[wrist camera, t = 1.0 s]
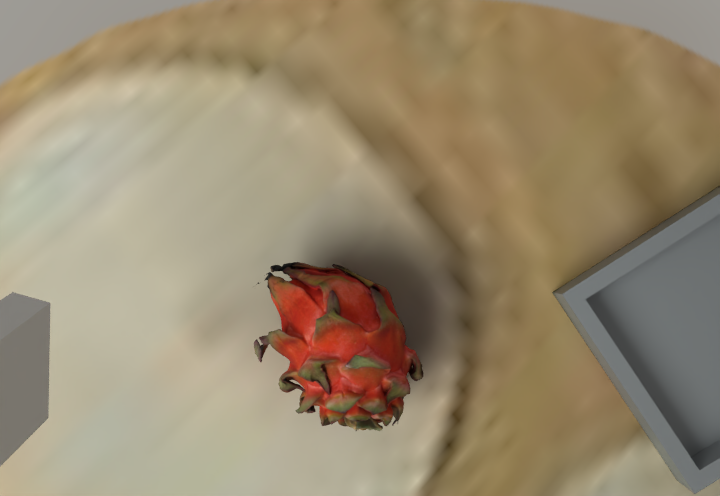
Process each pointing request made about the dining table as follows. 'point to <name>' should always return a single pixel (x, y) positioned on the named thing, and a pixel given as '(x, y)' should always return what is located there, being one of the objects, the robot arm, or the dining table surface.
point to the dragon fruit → (340, 345)
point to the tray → (662, 334)
